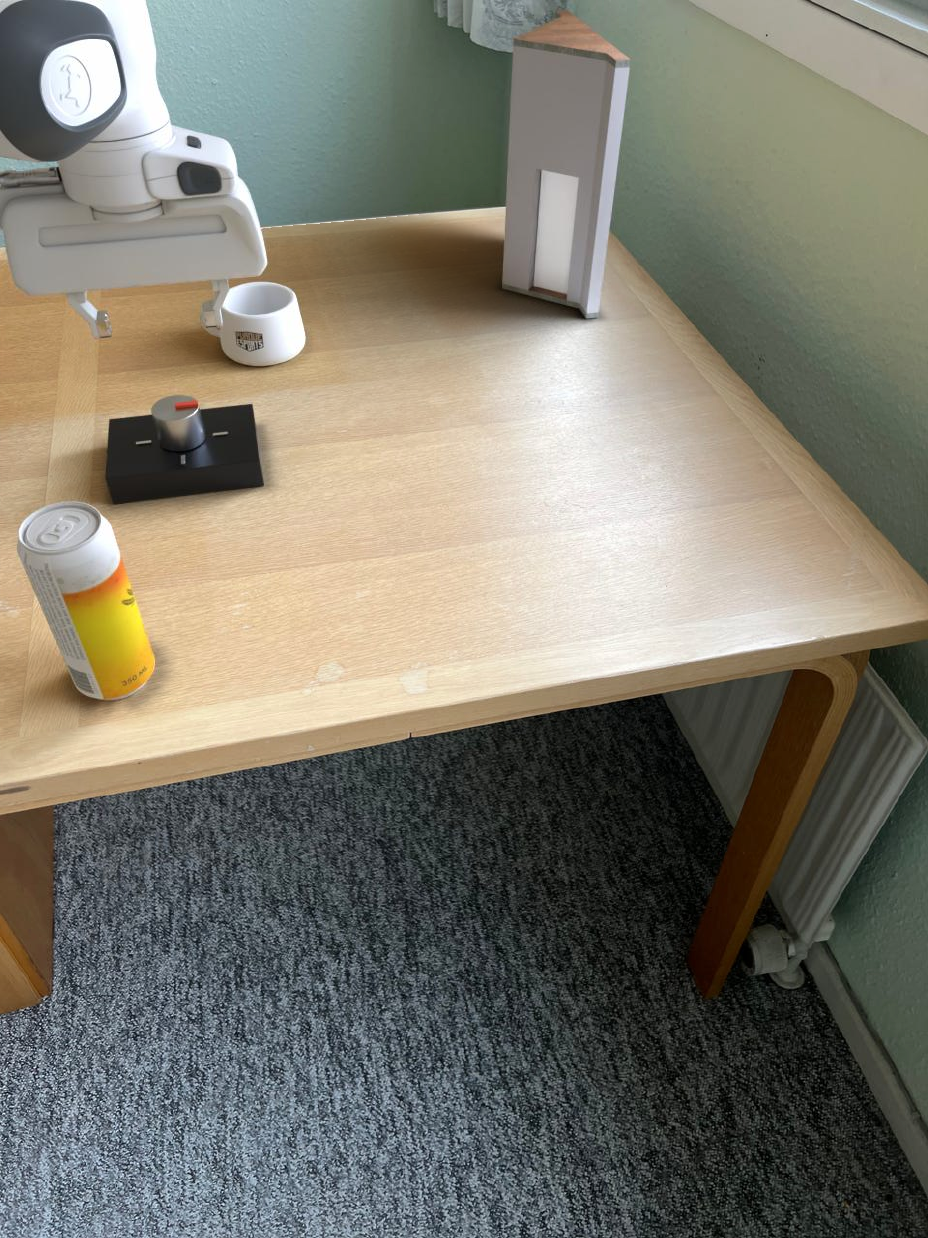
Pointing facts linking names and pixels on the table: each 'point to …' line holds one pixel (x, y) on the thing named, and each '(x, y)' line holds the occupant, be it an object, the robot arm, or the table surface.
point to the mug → (260, 324)
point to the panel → (183, 457)
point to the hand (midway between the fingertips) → (159, 329)
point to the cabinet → (562, 161)
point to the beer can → (86, 598)
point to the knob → (178, 423)
